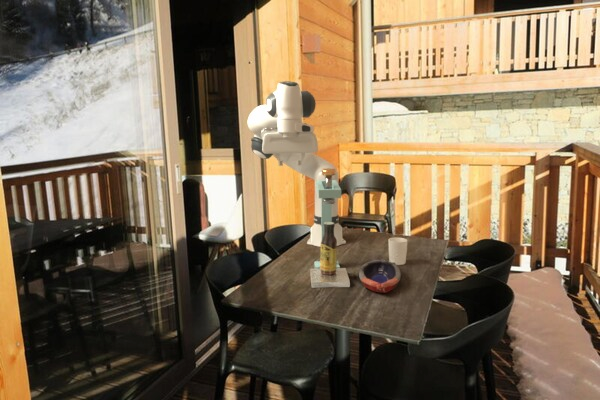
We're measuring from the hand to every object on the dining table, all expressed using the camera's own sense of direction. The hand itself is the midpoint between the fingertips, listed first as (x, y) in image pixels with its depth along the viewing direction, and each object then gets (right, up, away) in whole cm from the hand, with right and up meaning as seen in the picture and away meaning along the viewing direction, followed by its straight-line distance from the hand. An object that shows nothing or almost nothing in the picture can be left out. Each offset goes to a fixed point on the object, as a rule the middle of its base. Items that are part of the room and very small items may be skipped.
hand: (290, 165), depth 183 cm
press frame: (+15, -42, +14) cm, 47 cm away
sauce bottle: (+15, -41, +10) cm, 45 cm away
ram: (+14, -14, +3) cm, 20 cm away
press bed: (+15, -43, +8) cm, 46 cm away
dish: (+33, -44, +5) cm, 55 cm away
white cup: (+44, -39, +28) cm, 66 cm away
